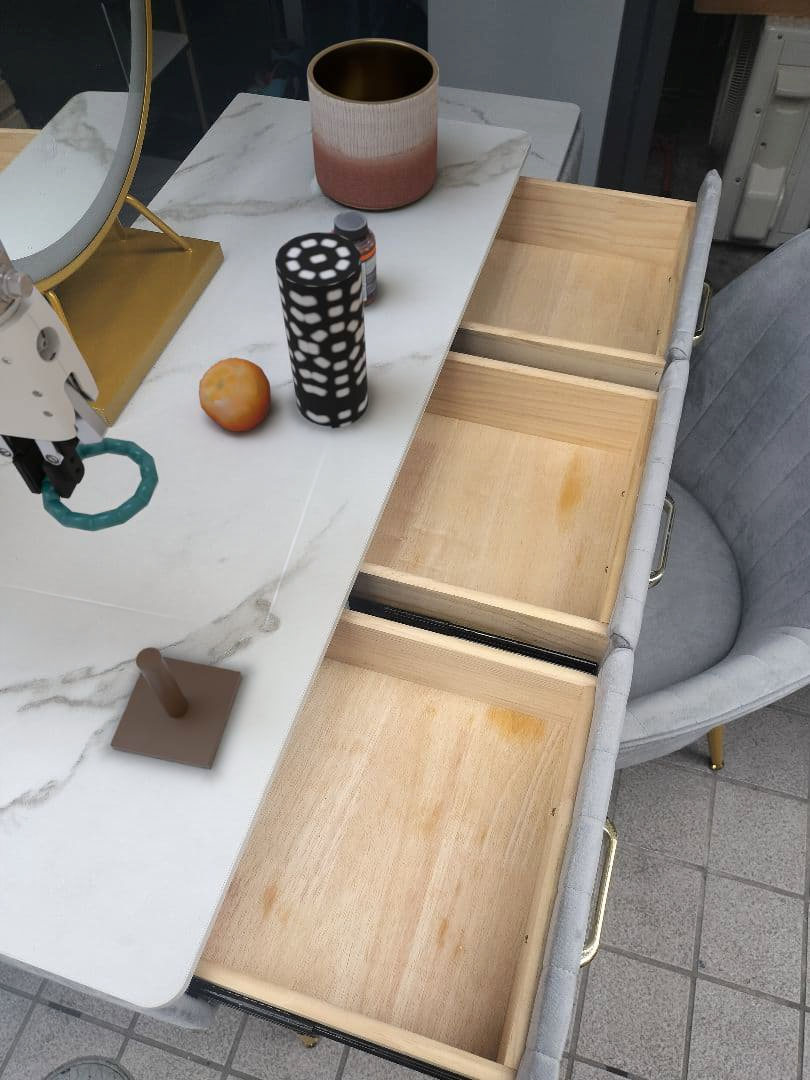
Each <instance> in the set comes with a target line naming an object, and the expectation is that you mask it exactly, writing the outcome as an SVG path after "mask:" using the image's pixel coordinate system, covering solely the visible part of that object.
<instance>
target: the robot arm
mask: <svg viewBox="0 0 810 1080" xmlns="http://www.w3.org/2000/svg"><path fill="white" fill-rule="evenodd" d="M99 395H100V394H99V389H98V386H97V383H96V382H95V379H94V377H93V375H92V373H91V371H90V368H89V366H88V364H87V363H86V361H85V359H84V357H83V355H82V353H81V352H80V350H79V348H78V345H77V344H76V343H75V340H74V339H73V337H72V336H71V333H70V332H69V331H68V329H67V328H66V326H65V324H64V323H63V322H62V320H61V318H60V317H59V316H58V313H56V311H55V310H54V309H53V307H52V306H51V304H50V303H49V302H48V301H47V299H46V298H45V297H44V296H43V294H42V293H41V292H40V291H39V290H38V288H37V287H36V286H35V285H34V282H33V279H32V277H31V275H30V274H28V273H25V272H19V271H18V270H16V269H15V267H14V265H13V263H12V260H11V258H10V257H9V255H8V252H7V250H6V248H5V246H4V244H3V242H2V240H1V239H0V456H1V457H4V458H6V459H12V461H11V462H12V464H13V466H14V468H15V469H16V470H17V472H18V474H19V475H20V477H21V478H22V480H23V481H24V484H25V485H26V487H27V488H28V489H29V491H30V493H31V494H34V495H42V490H41V483H42V481H43V479H44V477H45V476H46V475H47V476H48V478H49V480H50V481H51V483H52V485H53V486H54V488H55V490H56V491H57V492H58V494H59V495H60V499H61V498H62V499H66V500H67V499H68V500H69V499H70V498H72V495H73V493H74V492H75V489H76V487H77V486H78V485H79V484H80V483H82V481H83V478H84V477H85V473H86V468H85V464H84V462H83V461H82V460H81V459H80V457H79V455H78V453H77V451H76V449H75V448H76V447H77V445H78V444H83V445H86V444H93V443H100V442H102V441H103V439H104V438H106V435H107V433H108V431H109V428H110V426H109V424H108V422H107V421H106V420H104V418H103V417H102V416H101V415H100V413H98V412H97V411H96V410H95V408H93V406H92V405H91V404H90V403H89V402H91V403H96V402H97V399H98V397H99Z"/></svg>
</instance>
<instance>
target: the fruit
mask: <svg viewBox="0 0 810 1080" xmlns="http://www.w3.org/2000/svg"><path fill="white" fill-rule="evenodd" d="M198 383H199V385H198V397H199V405H200V408H201V409H202V411H204V413H205V414H206V415H207V416H208V417H209V418H210V419H211V420H212V421H214V423H216V424H218V425H219V426H220V427H222V428H223V429H226V430H228V431H232V432H247V431H250V430H253V429H255V428H256V427H257V426H258V425H260V424H262V423H263V422H264V421H265V419H266V418H267V416H268V415H269V412H270V411H269V410H270V409H271V385H270V381H269V379H268V377H267V375H266V373H265V372H264V370H263V369H262V367H260V366H259V365H258V364H256V363H255V362H252V361H250V360H248V359H245V358H239V357H229V358H226V359H222V360H219V361H218V362H216V363H214V364H213V365H212V366H210V367H209V368H208V369H207V371H205V373H204V374H203V376H202V378H201V379H200V380H199V382H198Z"/></svg>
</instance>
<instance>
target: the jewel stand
mask: <svg viewBox="0 0 810 1080" xmlns="http://www.w3.org/2000/svg"><path fill="white" fill-rule="evenodd" d="M135 657H136V658H135V663H136V666H137V668H138V669H139V671H140V673H139V676H138V678H137V680H136V683H135V685H134V687H133V690H132V692H131V694H130V697H129V699H128V702H127V704H126V706H125V709H124V711H123V713H122V716H121V717H120V721H119V723H118V725H117V728H116V730H115V733H114V735H113V737H112V739H111V741H110V747H111V748H112V749H113V750H116V751H121V752H125V753H131V754H136V755H140V756H145V757H149V758H154V759H158V760H164V761H167V762H172V763H173V762H174V763H178V764H183V765H188V766H191V767H192V766H193V767H197V768H200V769H201V768H202V769H207V770H211V769H212V765H213V762H214V760H215V756H216V754H217V751H218V748H219V745H220V743H221V739H222V736H223V734H224V731H225V727H226V724H227V722H228V719H229V716H230V713H231V710H232V708H233V705H234V701H235V698H236V696H237V692H238V690H239V687H240V684H241V681H242V678H243V675H242V673H241V671H238V670H232V669H228V668H224V667H223V668H222V667H217V666H213V665H207V664H203V663H198V662H197V663H196V662H192V661H187V660H182V659H176V658H171V657H167V656H163V655H162V653H161V651H160V650H159V649H157V648H156V647H145V648H143V649H142V650H140V651H139V652H138V653H137V655H136V656H135Z"/></svg>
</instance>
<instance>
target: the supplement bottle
mask: <svg viewBox="0 0 810 1080" xmlns="http://www.w3.org/2000/svg"><path fill="white" fill-rule="evenodd" d="M329 233H333V234H337V235H340V236H343V237H345V238H347V239H349V240H350V241H352V242H353V243H354V244H355V245H356V246H357V247H358V249H359V251H360V254H361V265H362V285H363V305H364V308H365V307H367V306H370V305H371V304H372V303H373V302H374V301H375V299H376V297H377V292H378V291H377V290H378V282H377V281H378V279H377V277H378V276H377V275H378V274H377V240H376V235H375V234H374V232H373V231H372V230H371V228H369V226H368V218H367V216H366V215H365V213H363V212H361V211H359V210H353V209H348V210H343V211H341V212H339V213H337V214H336V215H335V216H334V218H333V229H332V230H331V231H330V232H329Z"/></svg>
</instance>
